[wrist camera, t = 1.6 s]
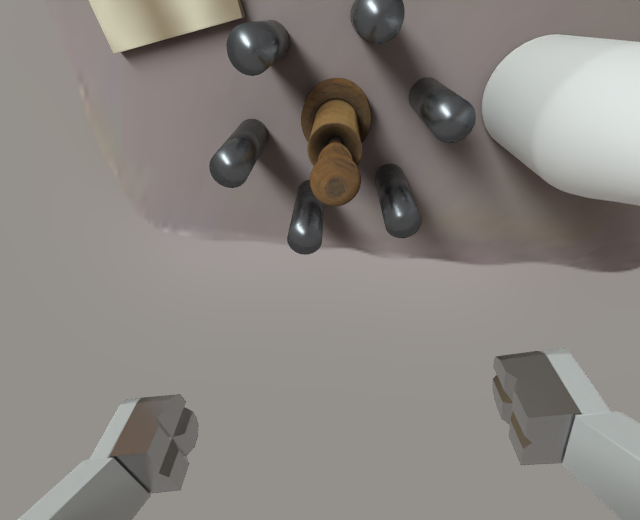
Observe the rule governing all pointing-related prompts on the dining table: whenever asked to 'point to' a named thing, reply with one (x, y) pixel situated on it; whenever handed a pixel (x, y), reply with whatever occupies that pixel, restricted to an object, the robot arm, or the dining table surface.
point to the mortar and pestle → (335, 138)
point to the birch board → (159, 19)
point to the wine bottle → (571, 113)
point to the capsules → (394, 194)
